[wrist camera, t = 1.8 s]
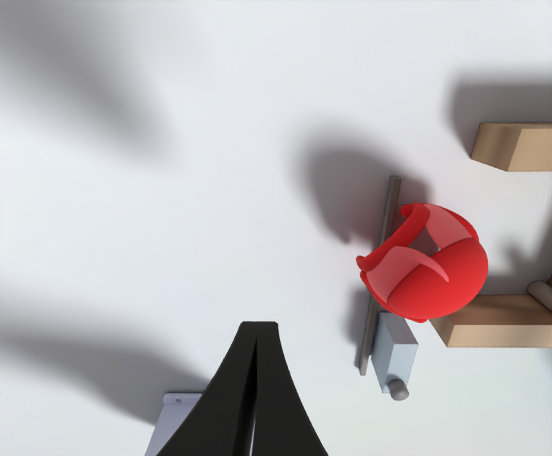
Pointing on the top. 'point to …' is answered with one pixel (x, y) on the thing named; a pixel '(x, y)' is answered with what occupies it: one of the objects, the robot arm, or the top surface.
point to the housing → (491, 308)
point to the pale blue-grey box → (393, 354)
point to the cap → (426, 265)
